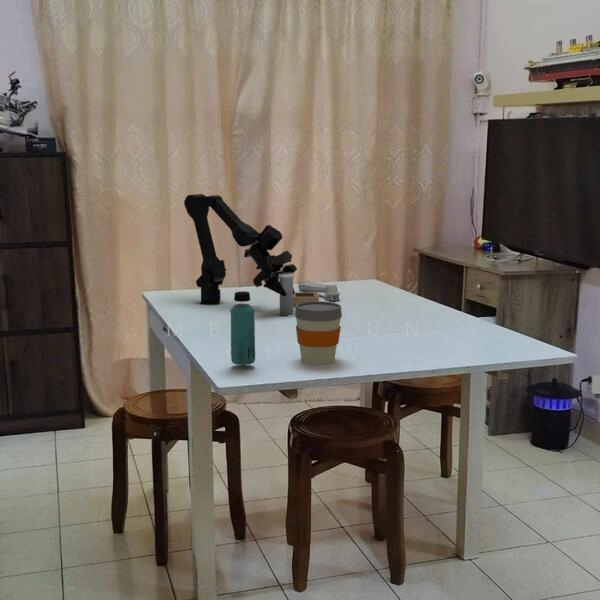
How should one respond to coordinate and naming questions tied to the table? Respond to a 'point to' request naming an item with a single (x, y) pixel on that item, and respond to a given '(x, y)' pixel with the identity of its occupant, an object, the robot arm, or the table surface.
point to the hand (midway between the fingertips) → (289, 294)
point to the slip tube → (286, 301)
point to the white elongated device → (320, 289)
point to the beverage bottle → (242, 331)
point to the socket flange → (304, 297)
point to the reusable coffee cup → (318, 331)
